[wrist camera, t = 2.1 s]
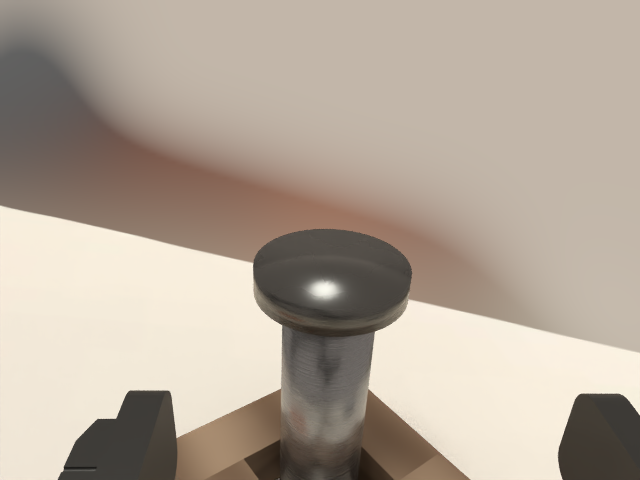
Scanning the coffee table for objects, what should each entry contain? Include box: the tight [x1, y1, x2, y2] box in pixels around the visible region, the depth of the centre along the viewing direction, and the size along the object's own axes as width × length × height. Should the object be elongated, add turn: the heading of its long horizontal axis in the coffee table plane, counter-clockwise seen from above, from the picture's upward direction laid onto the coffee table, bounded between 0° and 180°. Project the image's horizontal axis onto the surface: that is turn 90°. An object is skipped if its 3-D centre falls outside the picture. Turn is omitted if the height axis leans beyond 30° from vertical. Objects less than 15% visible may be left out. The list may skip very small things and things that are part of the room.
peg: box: [253, 229, 412, 480], centre depth 25 cm, size 6×6×15 cm
